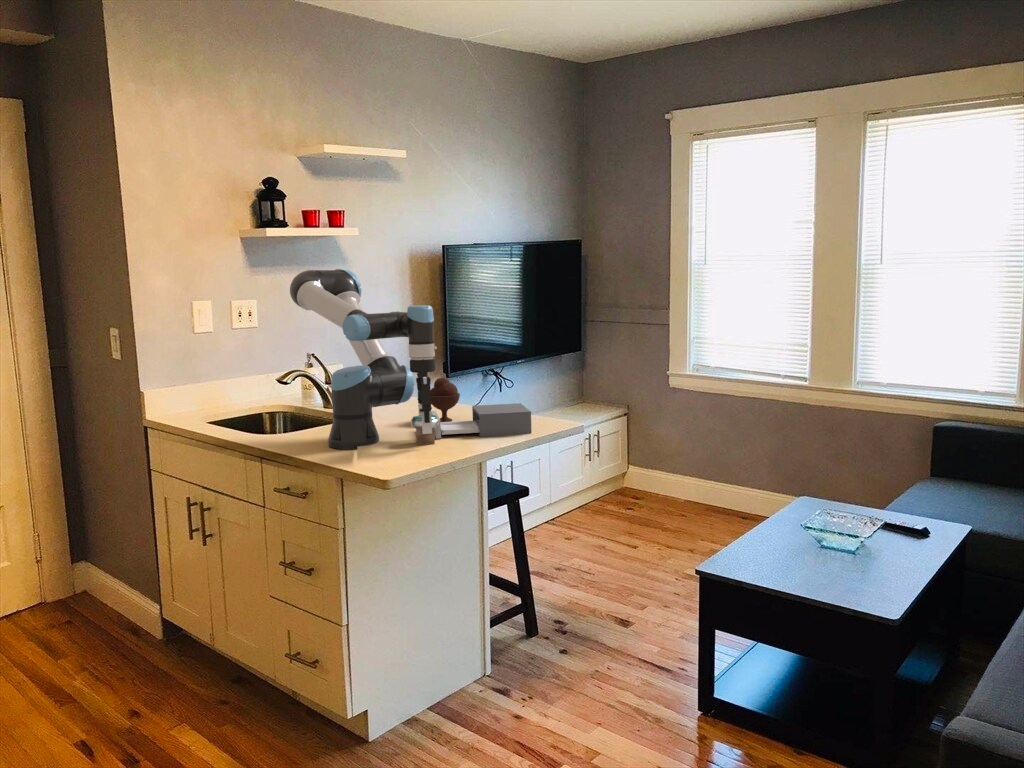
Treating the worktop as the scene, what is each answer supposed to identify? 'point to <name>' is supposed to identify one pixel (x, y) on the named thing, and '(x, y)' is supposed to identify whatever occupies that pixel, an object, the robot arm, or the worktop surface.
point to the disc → (417, 421)
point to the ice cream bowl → (444, 397)
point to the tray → (455, 427)
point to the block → (425, 437)
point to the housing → (502, 419)
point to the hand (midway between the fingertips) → (425, 429)
